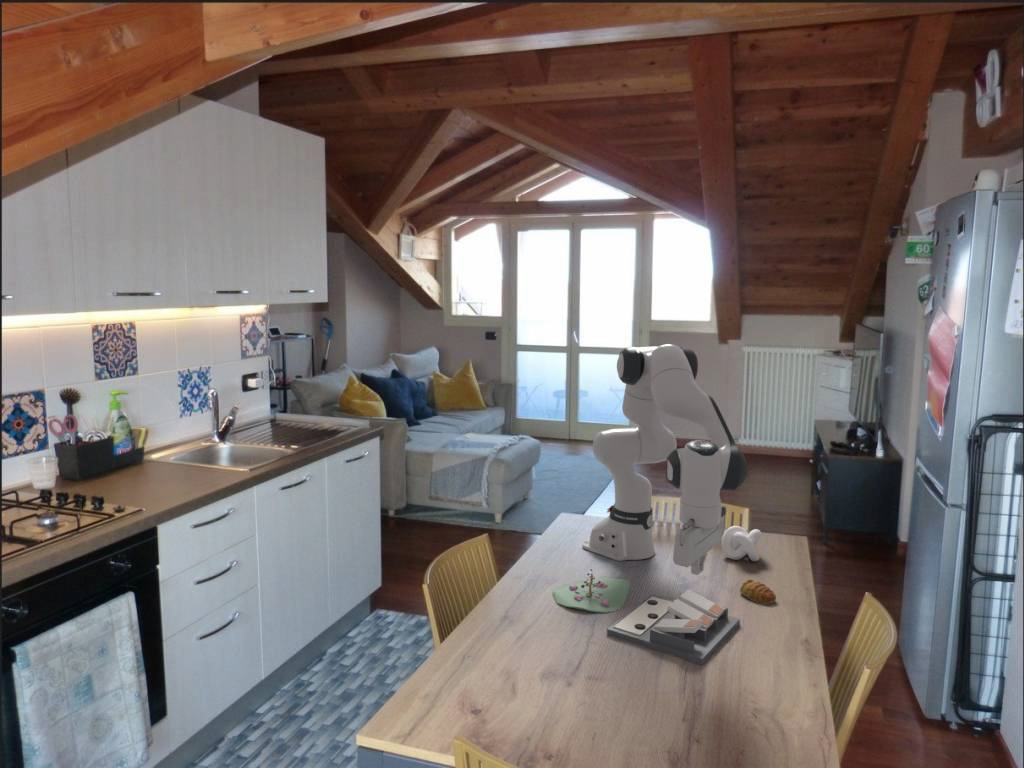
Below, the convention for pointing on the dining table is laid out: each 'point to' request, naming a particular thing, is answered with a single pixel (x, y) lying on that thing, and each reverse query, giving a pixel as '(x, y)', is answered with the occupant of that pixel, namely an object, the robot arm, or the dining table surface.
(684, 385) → the robot arm
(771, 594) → the pastry
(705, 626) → the switch middle
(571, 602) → the plant
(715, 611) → the switch far
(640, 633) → the switch unit
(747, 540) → the white knot sculpture
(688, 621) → the switch near
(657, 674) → the dining table surface
